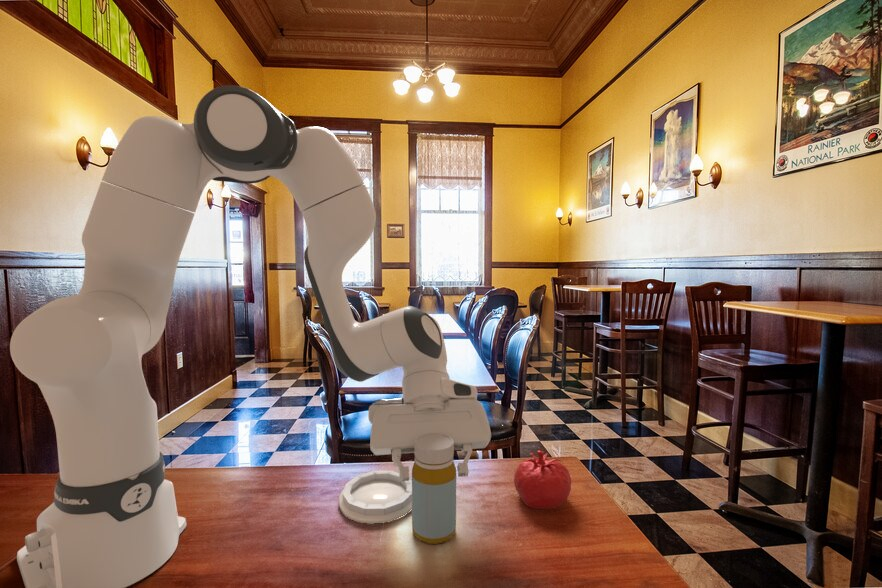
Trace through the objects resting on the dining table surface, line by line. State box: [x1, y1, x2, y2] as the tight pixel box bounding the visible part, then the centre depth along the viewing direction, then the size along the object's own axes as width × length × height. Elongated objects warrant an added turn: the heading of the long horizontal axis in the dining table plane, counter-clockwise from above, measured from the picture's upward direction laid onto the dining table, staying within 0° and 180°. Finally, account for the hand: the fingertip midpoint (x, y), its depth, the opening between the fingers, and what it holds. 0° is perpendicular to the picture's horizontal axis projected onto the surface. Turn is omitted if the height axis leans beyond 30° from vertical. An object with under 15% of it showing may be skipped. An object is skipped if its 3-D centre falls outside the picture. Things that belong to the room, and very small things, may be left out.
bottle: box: [411, 433, 457, 545], centre depth 66 cm, size 7×7×15 cm
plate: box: [338, 469, 412, 525], centre depth 76 cm, size 14×14×2 cm
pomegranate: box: [513, 450, 572, 510], centre depth 76 cm, size 10×10×9 cm
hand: (434, 477), depth 66 cm, fingers open, 8 cm apart
